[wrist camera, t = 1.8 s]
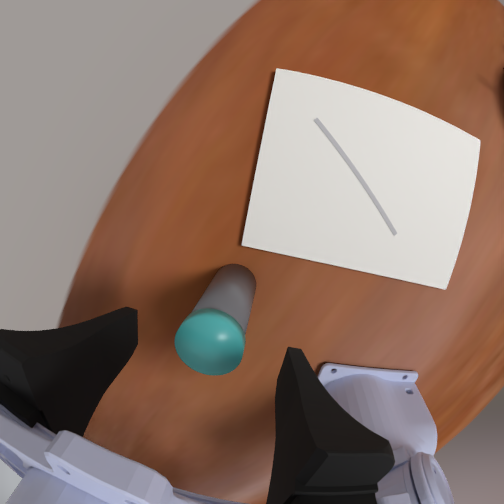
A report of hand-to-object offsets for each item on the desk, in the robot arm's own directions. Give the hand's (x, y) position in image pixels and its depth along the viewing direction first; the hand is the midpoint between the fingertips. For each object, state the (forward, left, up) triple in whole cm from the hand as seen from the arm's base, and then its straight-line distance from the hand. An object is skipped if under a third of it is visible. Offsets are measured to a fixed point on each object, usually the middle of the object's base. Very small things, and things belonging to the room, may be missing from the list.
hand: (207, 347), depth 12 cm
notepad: (-8, -9, -8) cm, 14 cm away
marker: (0, 0, -8) cm, 8 cm away
